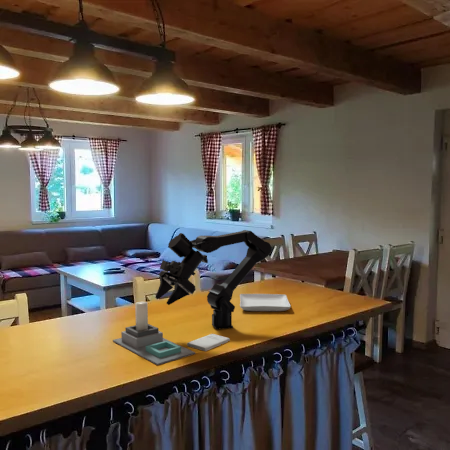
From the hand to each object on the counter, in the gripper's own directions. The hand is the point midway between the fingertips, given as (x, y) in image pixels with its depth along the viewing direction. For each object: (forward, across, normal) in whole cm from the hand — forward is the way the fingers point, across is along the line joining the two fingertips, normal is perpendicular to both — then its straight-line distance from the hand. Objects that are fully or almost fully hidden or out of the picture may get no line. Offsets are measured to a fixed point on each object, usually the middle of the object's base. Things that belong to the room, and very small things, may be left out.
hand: (161, 301), depth 161 cm
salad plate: (-27, -15, +50) cm, 59 cm away
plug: (+12, 0, +1) cm, 12 cm away
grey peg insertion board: (+14, +7, +4) cm, 16 cm away
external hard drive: (+3, +13, +17) cm, 22 cm away
